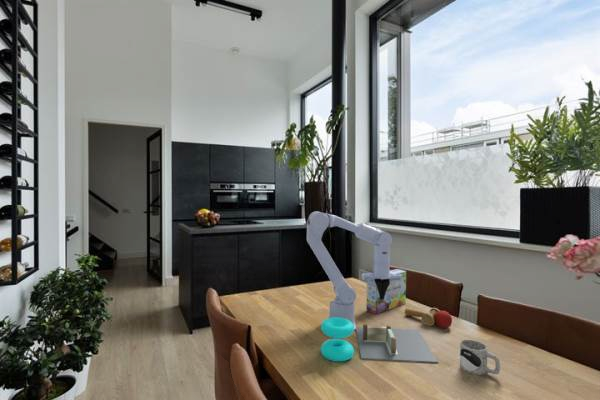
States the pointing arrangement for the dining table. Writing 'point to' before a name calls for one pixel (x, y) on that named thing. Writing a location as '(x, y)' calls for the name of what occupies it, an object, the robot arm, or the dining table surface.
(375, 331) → the fence fixed
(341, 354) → the donuts
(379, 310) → the snack box
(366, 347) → the card
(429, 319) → the kendama
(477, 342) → the mug
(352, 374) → the dining table surface
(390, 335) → the fence gate
